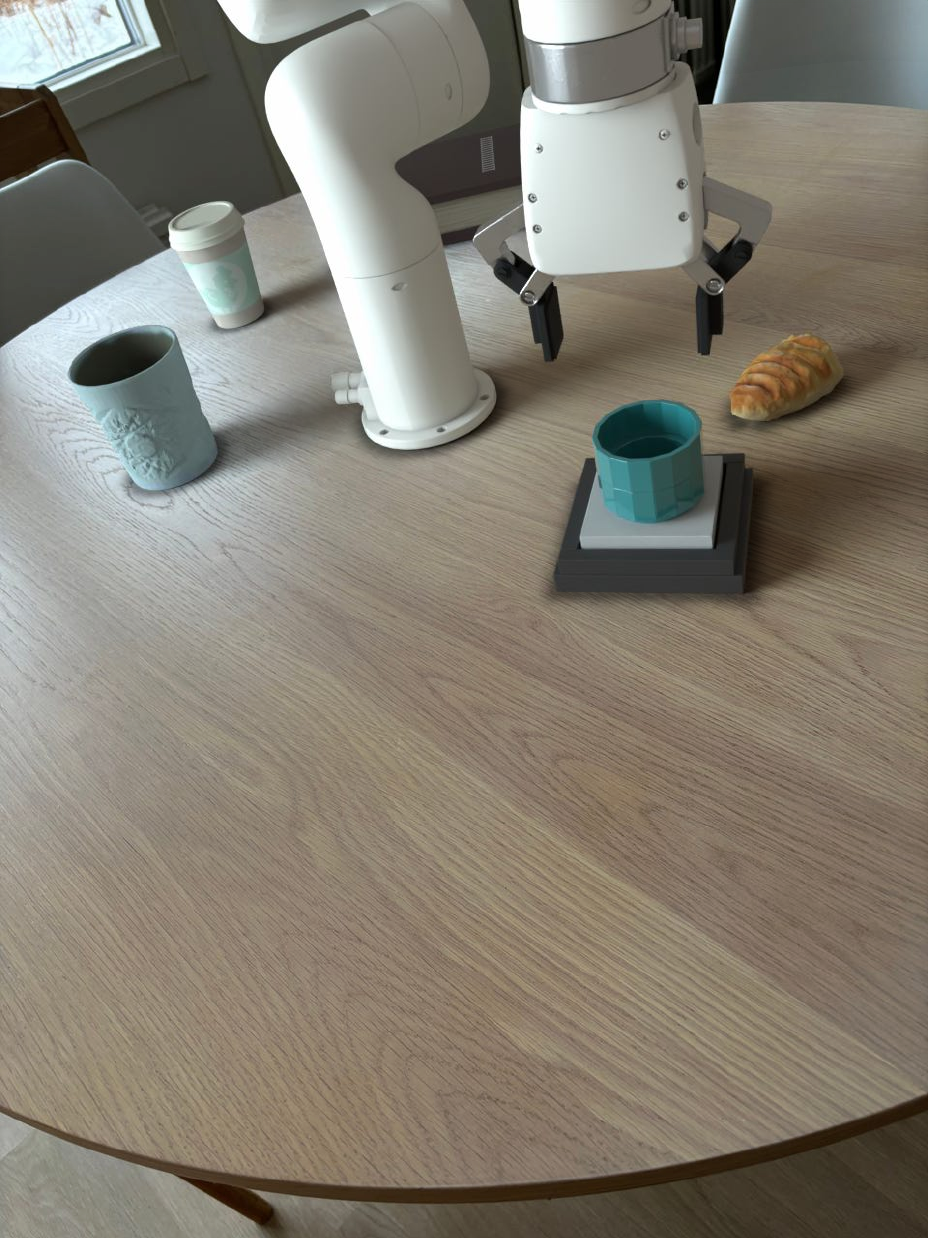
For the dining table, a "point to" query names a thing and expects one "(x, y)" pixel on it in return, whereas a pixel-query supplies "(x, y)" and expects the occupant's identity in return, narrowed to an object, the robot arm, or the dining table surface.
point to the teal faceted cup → (650, 460)
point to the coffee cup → (218, 261)
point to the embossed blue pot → (146, 405)
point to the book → (467, 179)
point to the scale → (663, 566)
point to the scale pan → (673, 534)
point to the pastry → (786, 379)
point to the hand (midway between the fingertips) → (628, 347)
